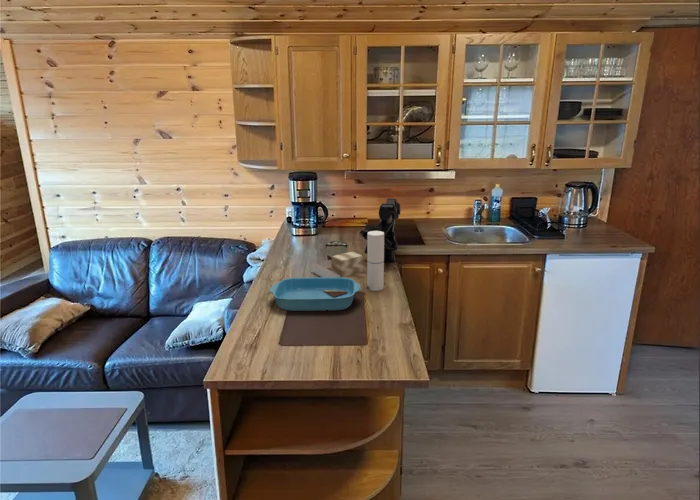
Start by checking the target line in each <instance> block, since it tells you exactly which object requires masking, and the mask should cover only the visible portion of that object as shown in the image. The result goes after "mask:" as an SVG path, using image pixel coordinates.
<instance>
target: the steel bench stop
mask: <svg viewBox="0 0 700 500" xmlns="http://www.w3.org/2000/svg"><path fill="white" fill-rule="evenodd" d="M326 268H327V267H324V266H323V265H321V264H319V263H317V262H315V263H311V272H312V273H311V274H313V273H314V274H316V275H318V276H320V277H340V275H338V274H336V273H334V272H332V271H330V270H328V269H326ZM314 274H313V275H314ZM316 275H315V276H316ZM318 276H317V277H318Z"/></svg>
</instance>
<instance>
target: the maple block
mask: <svg viewBox="0 0 700 500" xmlns="http://www.w3.org/2000/svg"><path fill="white" fill-rule="evenodd" d="M363 257H364V255H362V254H359V253H357V252H355V251H349V252H348V251H347V253H344V254H339V255H335V256H332V260H331V267H332V272H334V273H336V274H338V275H340V277H345V276H349V275H352V274H356V273H360V272H363V262H364V261H363V260H364V259H363Z"/></svg>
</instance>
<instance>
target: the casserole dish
mask: <svg viewBox="0 0 700 500" xmlns="http://www.w3.org/2000/svg"><path fill="white" fill-rule="evenodd" d="M326 291H342V292H346V293H342V294H339V295H336V296H333V295H331V294H330V293H328V292H326ZM359 291H361V285H360V284H359V283H358V282H356V281H355V280H353V279H350V278H343V277H318V276H316V277H313V276H312V277H305V276H304V277H287V278H284V279H281V280H280V281H278V282H277V283H275V284H272V285H271V286H270V288H269V293H270V294H272V295H273V298H274V300H275V302H276V304H277V306H278V308H281V309H282V310H285V311H291V312H292V311H293V312H296V311H297V312H300V311H301V312H311V311H313V312H314V311H315V312H317V311H318V312H319V311H321V312H323V311H326V310H328V311H341V310H345V309H347V308H349V307H350V306H351V305H352V303H353V300H354V298H355V293H359ZM328 311H327V312H328Z"/></svg>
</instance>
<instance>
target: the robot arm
mask: <svg viewBox="0 0 700 500" xmlns="http://www.w3.org/2000/svg"><path fill="white" fill-rule="evenodd" d="M378 209H379V210H378V217H379V223H378V224H374V225H371V224H368V223H366V224H365V226H364V229H362V230H360V232H359V235H360V237H362V238H363V239H364V240H366V241H367V233H368V232H370V231H382V232H384V264H389V263H394V262H397V259H396V258H395V252H396V251H397V250H398V241H397V239H395V238H396V235H395V232H394V229H395V224H396V220H398V219H399V217H400V215H401V211H402V210H401V204H400V203H399V202H398V201H397V199H396V198H387V199H386V202H384V203H383V202H382V203H381V205H380V206H379V208H378ZM364 253H365V254H366V255H367V244H366V245H365V249H364Z"/></svg>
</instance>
